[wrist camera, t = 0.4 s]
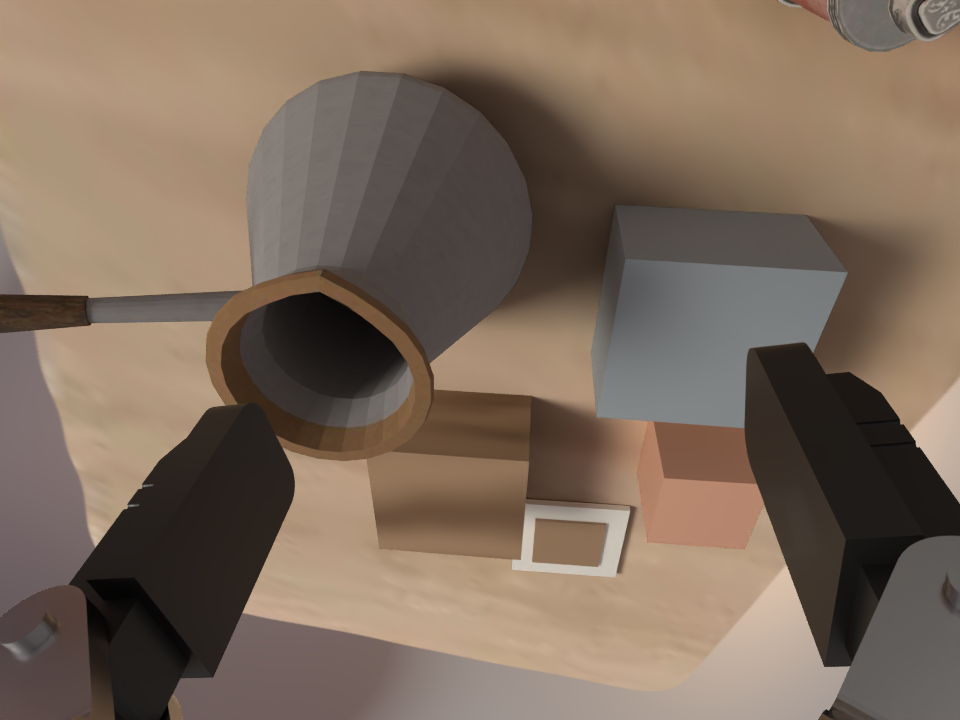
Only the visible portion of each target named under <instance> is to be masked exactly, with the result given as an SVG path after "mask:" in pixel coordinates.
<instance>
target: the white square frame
mask: <svg viewBox="0 0 960 720" xmlns="http://www.w3.org/2000/svg"><path fill="white" fill-rule="evenodd" d="M629 514H630V506H625V505H610V504H595V503H580V502H565V501H549V500H534V499H526V505H525V517H524V528H523V540H522V552H521V560H513V562H512V570H525V571H538V572H552V573H565V574H579V575H592V576H606V577H615V576H616V572H617V567H618V563H619V558H620V554H621V550H622V545H623V541H624V536H625V532H626V528H627V523H628V519H629Z"/></svg>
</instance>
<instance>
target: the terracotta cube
mask: <svg viewBox="0 0 960 720" xmlns="http://www.w3.org/2000/svg"><path fill="white" fill-rule="evenodd" d="M637 476H638V483H639V490H640V496H641V503H642V510H643V517H644V524H645V531H646V537H647V542H648V543H662V544H677V545H691V546H705V547H719V548H733V549H745V547H746V545H747V543H748V540H749V538H750V536H751V533H752V531H753V529H754V526H755V524H756V521H757V519H758V517H759V514H760V512H761V510H762V507H763V505H764V502H763V499H762V496H761V494H760V491H759V488H758V485H757V483H756V480H755V477H754V475H753V472H752V469H751V466H750V463H749V459H748V454H747V449H746V442H745V431H744V428H735V427H721V426H708V425H695V424H681V423H668V422H655V421H648V425H647V429H646V434H645V438H644V443H643V447H642V452H641V456H640V461H639V465H638V470H637Z"/></svg>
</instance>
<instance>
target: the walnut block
mask: <svg viewBox="0 0 960 720" xmlns="http://www.w3.org/2000/svg"><path fill="white" fill-rule="evenodd" d="M530 423H531V396H524V395H509V394H493V393H477V392H462V391H446V390H434V400H433V403H432V406H431V409H430V411H429V414H428V417H427V420H426V421H425V422H424V423H423V424H422V426H421V427H420V428H419V429H418V431H417V432H416V433H415V434H414V435H413V437H412V438H411V439H410V440H408V441H407V442H405V443H404V444H402V445H400V446H399V447H397V448H396V449H394V450H393V451H391V452H388V453H384V454H381V455H378V456H375V457H372V458H369V459H367V465H368V471H369V478H370V485H371V492H372V499H373V506H374V513H375V520H376V527H377V534H378V541H379V548H380V549H389V550H402V551H414V552H426V553H439V554H451V555H464V556H476V557H488V558H501V559H513V560H521V552H522V540H523V528H524V517H525V505H526V493H527V481H528V470H529V452H530Z"/></svg>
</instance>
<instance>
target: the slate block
mask: <svg viewBox="0 0 960 720" xmlns="http://www.w3.org/2000/svg"><path fill="white" fill-rule="evenodd" d="M847 274H848V272H847V270H846V269H845V267H844V266H843V265H842V263H841V262H840V261H839V259H838V258H837V257H836V255H835V254H834V252H833V251H832V250H831V248H830V247H829V246H828V244H827V243H826V242H825V240H824V239H823V237H822V236H821V235H820V233H819V232H818V231H817V229H816V228H815V227H814V225H813V224H812V223H811V221H810V220H809V218H808V217H807V216H806V215H796V214H778V213H760V212H741V211H723V210H705V209H687V208H669V207H651V206H632V205H615V209H614V215H613V221H612V227H611V233H610V240H609V246H608V252H607V258H606V264H605V270H604V276H603V283H602V289H601V295H600V301H599V307H598V313H597V319H596V326H595V332H594V338H593V344H592V350H591V357H592V369H593V381H594V393H595V405H596V417H601V418H615V419H628V420H641V421H655V422H668V423H681V424H695V425H708V426H721V427H735V428H744V423H745V393H746V362H747V354H748V351H749V349H750V348H756V347H764V346H773V345H782V344H791V343H800V342H804V343H806V344H807V345H808V346H809V348H810V349H811V351H812V352H814V350H815V347H816V345H817V343H818V341H819V338H820V336H821V334H822V331H823V329H824V327H825V325H826V322H827V320H828V318H829V315H830V313H831V311H832V309H833V306H834V304H835V302H836V299H837V297H838V295H839V292H840V290H841V288H842V286H843V283H844V281H845V279H846V276H847Z"/></svg>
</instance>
